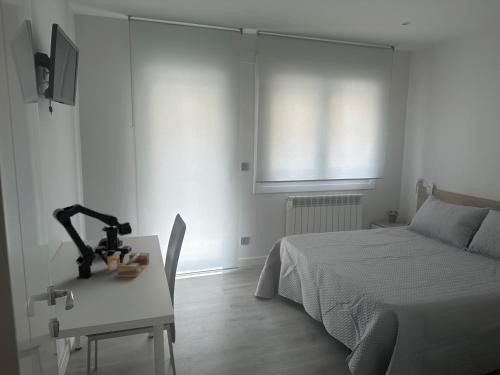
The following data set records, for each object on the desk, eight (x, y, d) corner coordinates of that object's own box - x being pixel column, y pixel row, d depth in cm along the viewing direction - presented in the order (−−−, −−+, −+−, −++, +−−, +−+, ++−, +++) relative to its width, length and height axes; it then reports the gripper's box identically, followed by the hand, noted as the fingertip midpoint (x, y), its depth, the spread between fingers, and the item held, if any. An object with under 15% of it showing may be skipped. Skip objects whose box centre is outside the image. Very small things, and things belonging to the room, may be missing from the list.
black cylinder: (109, 248, 244) (115, 234, 245) (112, 259, 213) (119, 243, 214) (94, 244, 240) (100, 230, 241) (95, 253, 209) (102, 237, 210)
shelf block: (136, 276, 183) (135, 264, 182) (118, 276, 183) (117, 264, 182) (149, 262, 203) (148, 251, 202) (132, 262, 203) (131, 251, 202)
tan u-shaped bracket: (121, 267, 197) (120, 256, 196) (118, 269, 194) (118, 258, 193) (110, 267, 197) (109, 256, 196) (108, 269, 194) (107, 258, 193)
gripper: (134, 233, 200) (136, 259, 203) (102, 233, 201) (104, 259, 204) (126, 239, 189) (128, 266, 192) (92, 239, 190) (95, 266, 193)
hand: (114, 264), depth 195 cm, fingers open, 8 cm apart
